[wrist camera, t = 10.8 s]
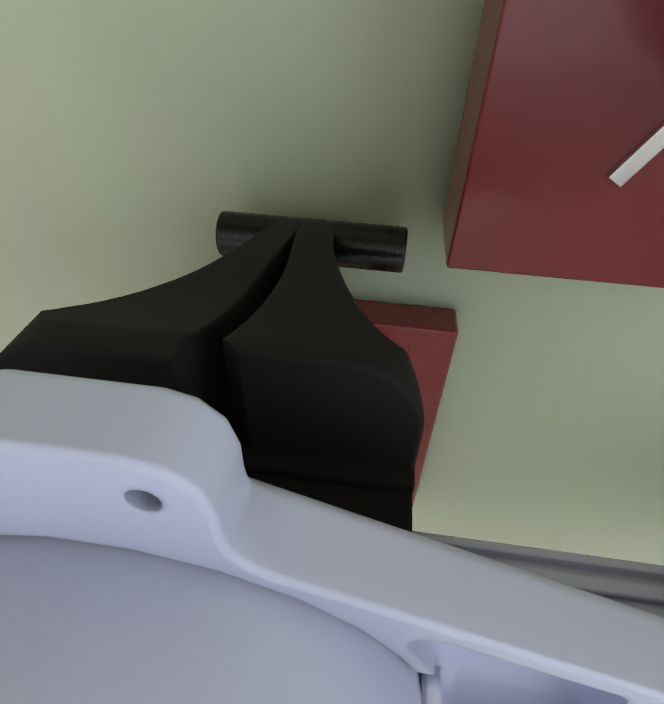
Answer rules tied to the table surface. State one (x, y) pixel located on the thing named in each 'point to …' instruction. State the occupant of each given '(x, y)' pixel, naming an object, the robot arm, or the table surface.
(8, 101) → the table surface
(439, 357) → the red lever base
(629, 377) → the table surface
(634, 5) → the panel
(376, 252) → the toaster lever
